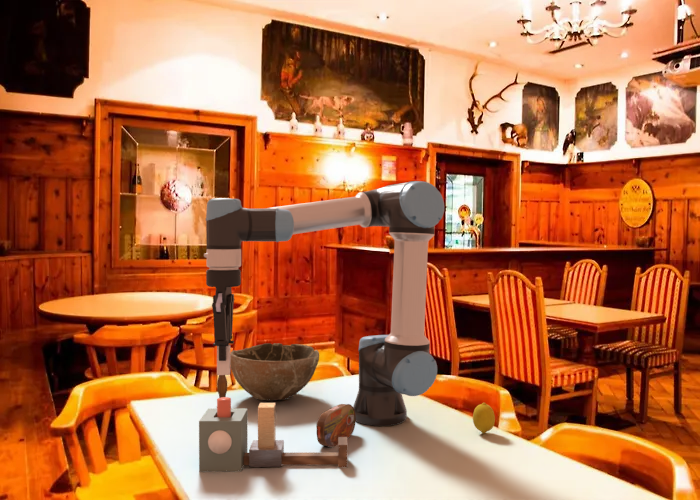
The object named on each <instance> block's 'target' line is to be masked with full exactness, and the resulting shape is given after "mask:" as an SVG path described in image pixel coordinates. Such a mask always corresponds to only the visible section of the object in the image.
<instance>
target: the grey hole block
mask: <svg viewBox="0 0 700 500" xmlns="http://www.w3.org/2000/svg"><path fill="white" fill-rule="evenodd" d="M245 453H248V408H247V407H246V408H245V407H244V408H240V407H239V408H233V407H232V408H231V417H217V408H207V410H206V411H205V413H203V415H202V416H201V418H200V419H199V420H198V454H199V455H198V471H199V472H205V473H207V472H219V473H220V472H242V471H243V468H244V466H245V465H244V454H245Z"/></svg>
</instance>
